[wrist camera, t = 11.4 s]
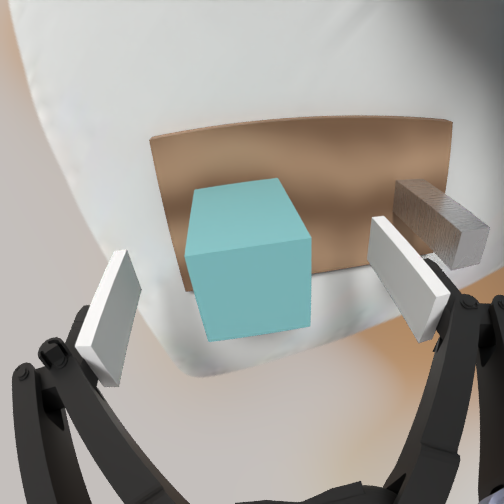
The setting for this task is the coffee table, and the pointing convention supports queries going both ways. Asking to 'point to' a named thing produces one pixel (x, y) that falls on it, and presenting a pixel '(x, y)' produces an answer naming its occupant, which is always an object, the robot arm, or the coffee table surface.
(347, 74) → the coffee table surface
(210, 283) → the teal rectangular prism
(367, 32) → the coffee table surface
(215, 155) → the board
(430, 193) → the post
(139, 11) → the coffee table surface
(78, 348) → the robot arm
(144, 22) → the coffee table surface
